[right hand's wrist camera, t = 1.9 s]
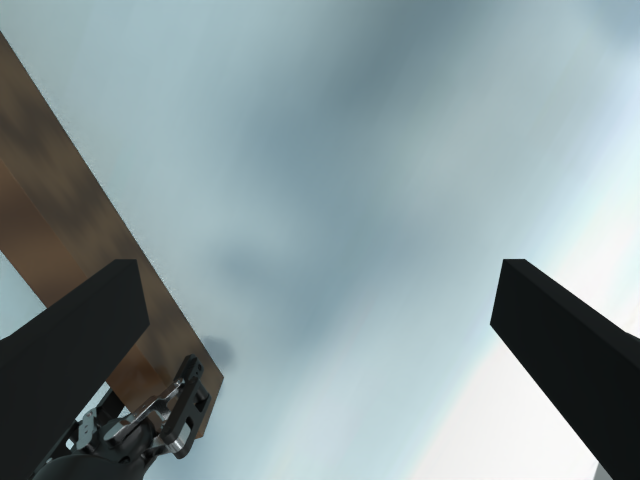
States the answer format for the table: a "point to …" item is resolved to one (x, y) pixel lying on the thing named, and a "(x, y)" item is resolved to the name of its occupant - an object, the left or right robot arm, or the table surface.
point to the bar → (81, 239)
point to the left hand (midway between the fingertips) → (159, 373)
